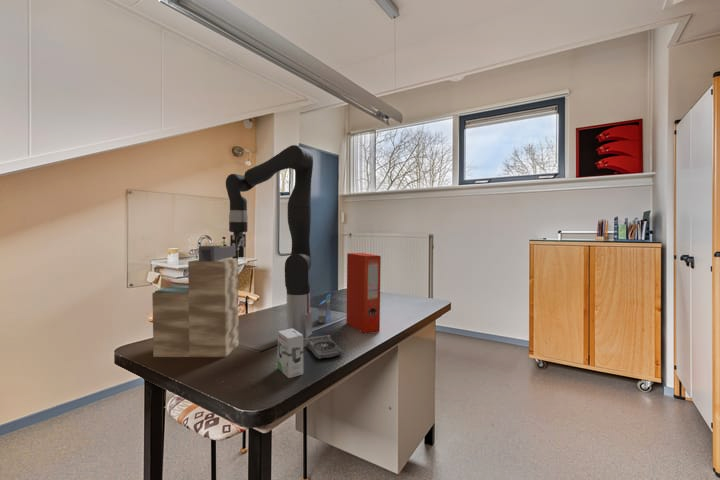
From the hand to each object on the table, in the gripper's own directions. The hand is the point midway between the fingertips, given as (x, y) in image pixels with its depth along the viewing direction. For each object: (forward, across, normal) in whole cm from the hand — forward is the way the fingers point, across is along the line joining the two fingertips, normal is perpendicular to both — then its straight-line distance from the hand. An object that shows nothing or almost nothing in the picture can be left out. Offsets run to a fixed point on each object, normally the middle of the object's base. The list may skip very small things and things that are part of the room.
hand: (238, 258), depth 144 cm
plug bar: (-2, -24, -1) cm, 24 cm away
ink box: (+29, -49, -30) cm, 64 cm away
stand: (+29, -29, +5) cm, 42 cm away
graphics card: (+29, -33, -38) cm, 59 cm away
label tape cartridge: (+30, +7, -38) cm, 49 cm away
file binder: (+29, -5, -55) cm, 62 cm away
